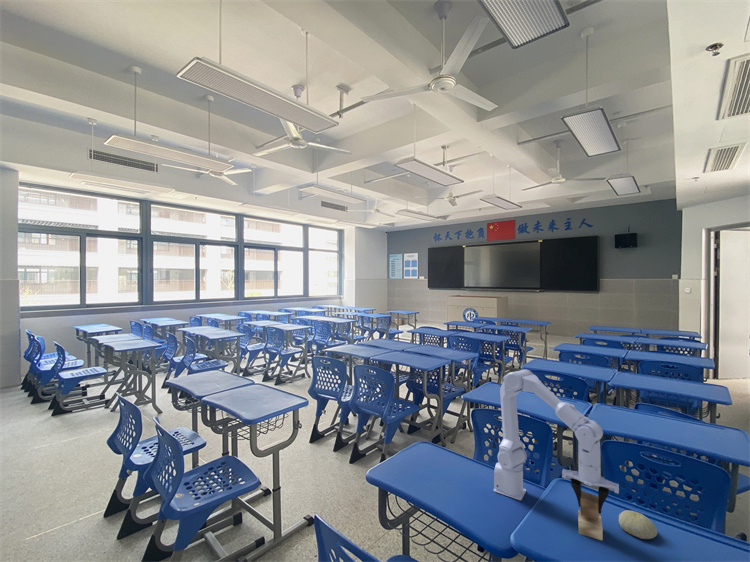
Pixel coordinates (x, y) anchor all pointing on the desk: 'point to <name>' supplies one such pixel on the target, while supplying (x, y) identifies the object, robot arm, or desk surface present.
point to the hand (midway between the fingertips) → (589, 508)
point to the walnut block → (589, 506)
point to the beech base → (590, 526)
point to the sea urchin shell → (637, 525)
